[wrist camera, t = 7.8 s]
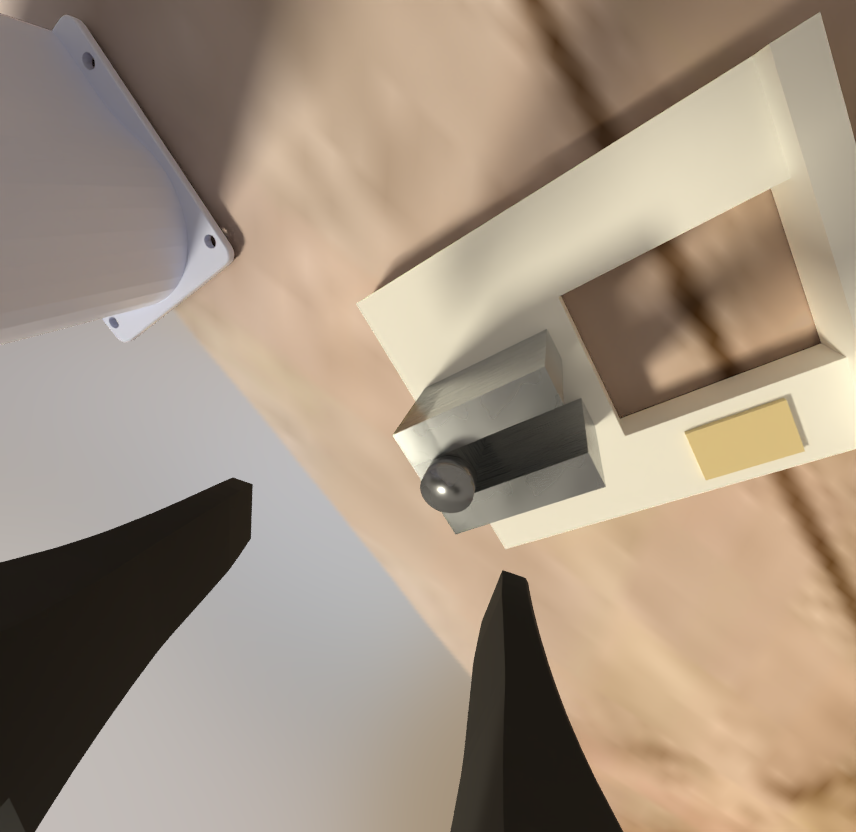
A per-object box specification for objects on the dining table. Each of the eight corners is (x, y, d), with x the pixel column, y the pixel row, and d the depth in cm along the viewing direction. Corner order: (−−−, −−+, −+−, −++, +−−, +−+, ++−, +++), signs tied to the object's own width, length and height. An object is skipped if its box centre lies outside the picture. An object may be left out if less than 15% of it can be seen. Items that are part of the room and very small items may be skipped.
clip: (424, 388, 18) (383, 447, 13) (547, 328, 15) (544, 377, 11) (474, 470, 19) (450, 550, 14) (595, 425, 16) (608, 503, 12)
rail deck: (370, 296, 18) (345, 309, 16) (773, 45, 12) (820, 12, 10) (508, 527, 21) (503, 565, 19) (883, 412, 15) (937, 447, 13)
